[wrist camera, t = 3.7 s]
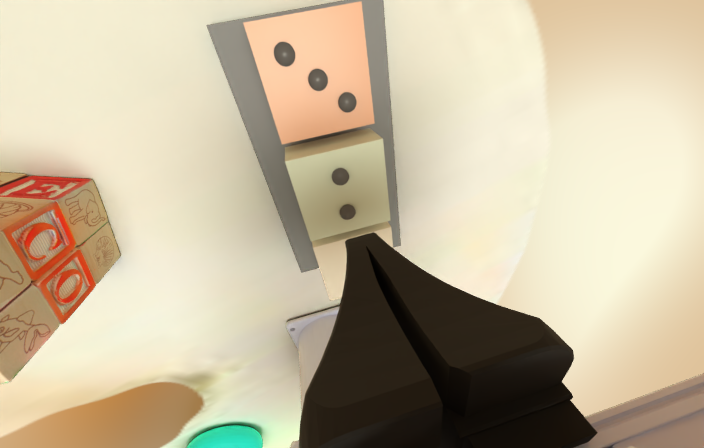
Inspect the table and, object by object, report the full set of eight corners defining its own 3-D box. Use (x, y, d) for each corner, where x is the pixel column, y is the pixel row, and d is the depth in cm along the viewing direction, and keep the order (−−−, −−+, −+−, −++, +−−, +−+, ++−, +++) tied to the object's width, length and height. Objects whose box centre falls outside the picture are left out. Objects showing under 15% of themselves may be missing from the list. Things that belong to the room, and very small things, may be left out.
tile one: (385, 260, 21) (397, 283, 19) (325, 276, 20) (330, 303, 18) (379, 208, 18) (392, 228, 16) (309, 225, 17) (313, 250, 15)
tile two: (378, 201, 18) (391, 222, 15) (307, 220, 17) (311, 243, 15) (369, 128, 15) (384, 139, 13) (285, 147, 14) (284, 163, 12)
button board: (396, 238, 24) (409, 259, 21) (301, 264, 23) (302, 289, 20) (377, -3, 14) (396, -17, 12) (211, 27, 13) (194, 19, 11)
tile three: (362, 115, 16) (375, 124, 13) (282, 133, 15) (282, 145, 13) (349, 10, 13) (362, 0, 11) (250, 29, 12) (242, 21, 10)
